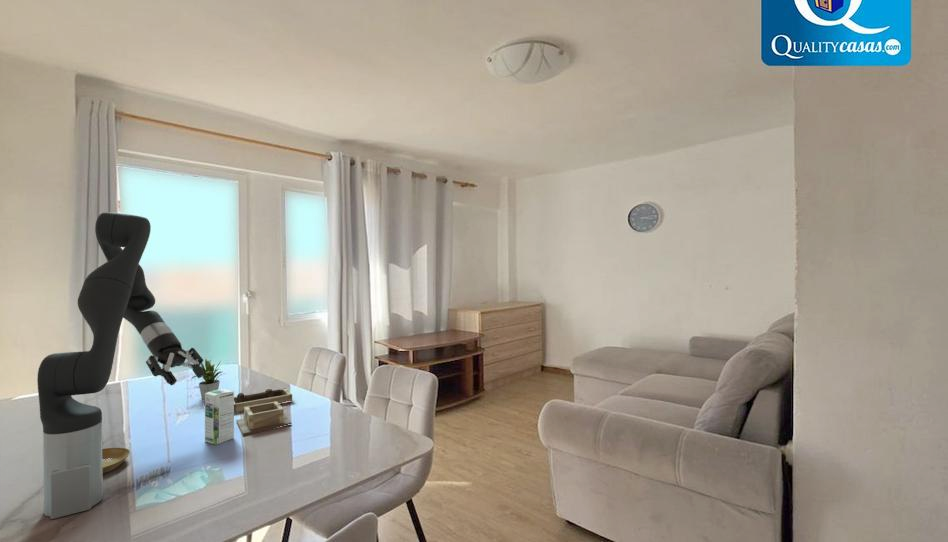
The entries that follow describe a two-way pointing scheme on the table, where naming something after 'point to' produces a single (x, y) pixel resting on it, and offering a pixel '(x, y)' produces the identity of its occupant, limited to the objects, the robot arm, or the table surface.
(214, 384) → the house plant
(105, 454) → the plant saucer
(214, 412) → the syrup box
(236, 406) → the bolt rack
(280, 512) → the table surface
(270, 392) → the bolt
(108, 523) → the table surface
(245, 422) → the socket
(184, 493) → the table surface
